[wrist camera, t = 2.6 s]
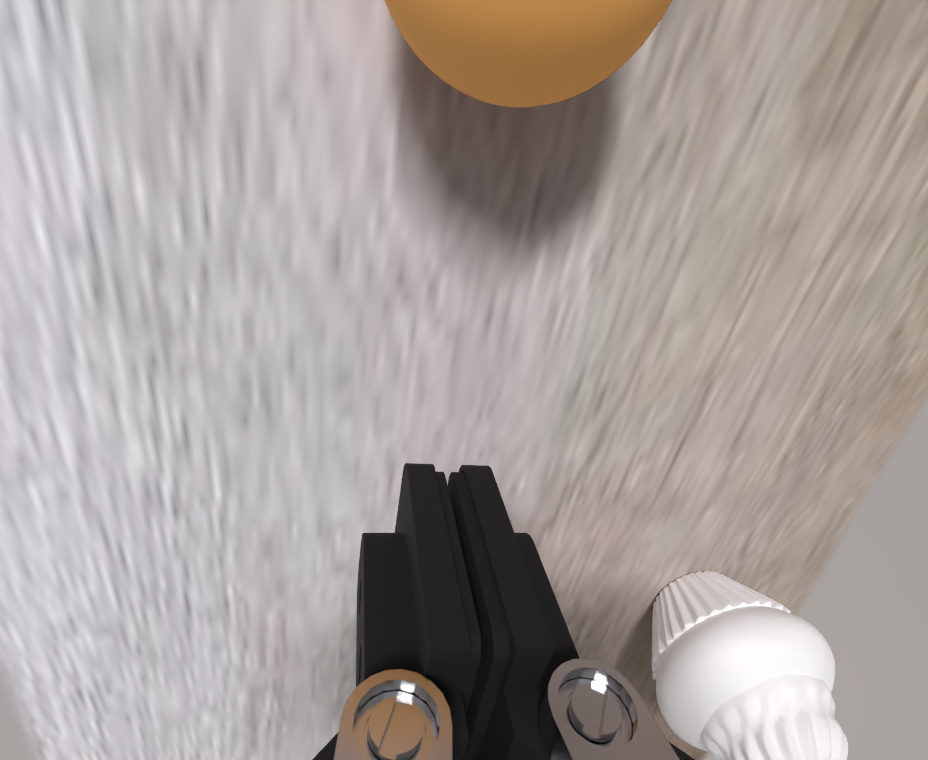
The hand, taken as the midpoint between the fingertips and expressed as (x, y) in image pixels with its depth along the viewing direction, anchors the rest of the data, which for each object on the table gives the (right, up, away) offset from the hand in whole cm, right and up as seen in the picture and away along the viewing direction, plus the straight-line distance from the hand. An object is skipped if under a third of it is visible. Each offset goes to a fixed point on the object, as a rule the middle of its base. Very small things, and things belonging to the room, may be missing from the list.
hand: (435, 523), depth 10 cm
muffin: (+10, -6, +11) cm, 16 cm away
